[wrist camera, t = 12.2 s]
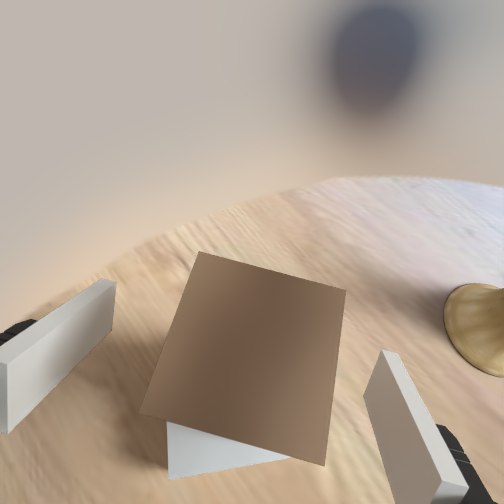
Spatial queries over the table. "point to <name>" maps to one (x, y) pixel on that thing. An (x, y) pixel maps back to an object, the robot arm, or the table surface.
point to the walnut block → (251, 358)
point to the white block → (209, 452)
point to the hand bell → (477, 325)
